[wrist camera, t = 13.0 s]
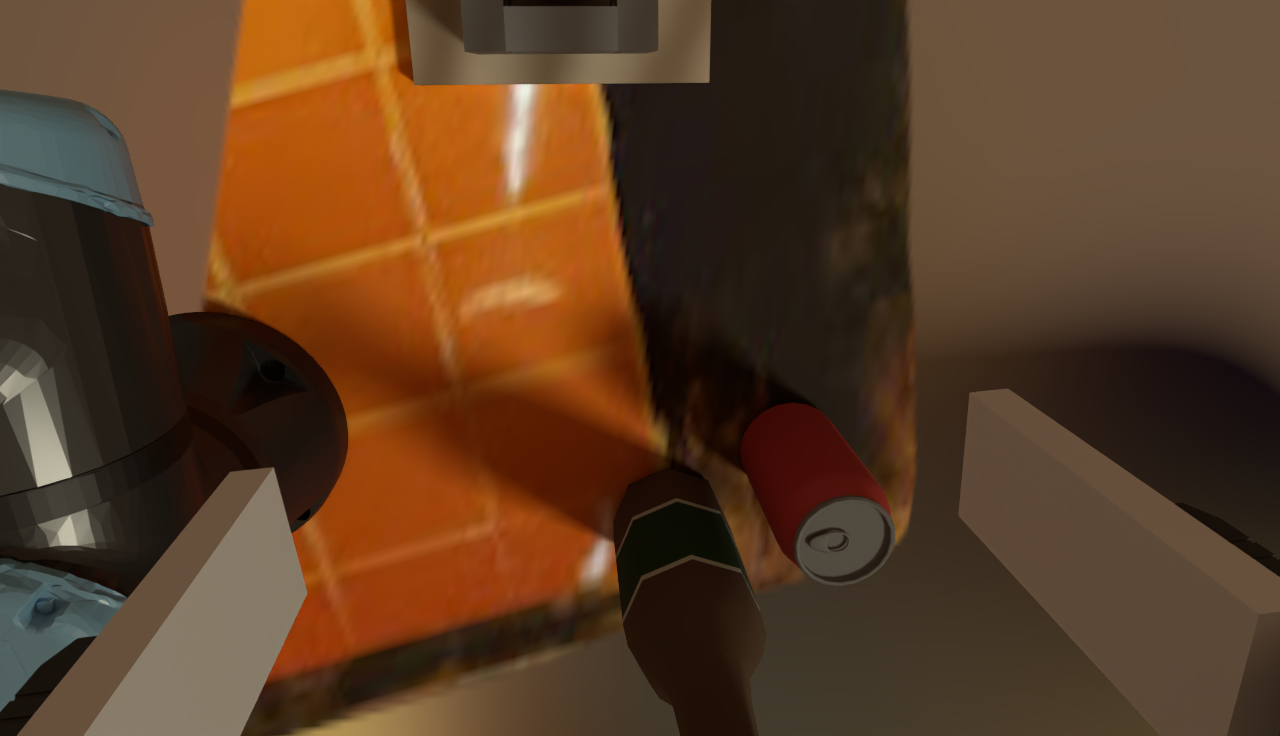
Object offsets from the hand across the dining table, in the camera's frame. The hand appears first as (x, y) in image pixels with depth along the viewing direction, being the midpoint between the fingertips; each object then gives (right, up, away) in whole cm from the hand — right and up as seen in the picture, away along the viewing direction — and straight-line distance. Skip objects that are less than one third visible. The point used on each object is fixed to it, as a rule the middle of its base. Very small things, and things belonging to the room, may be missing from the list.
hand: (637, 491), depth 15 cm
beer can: (+10, -3, +38) cm, 39 cm away
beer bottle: (+2, -8, +39) cm, 40 cm away
